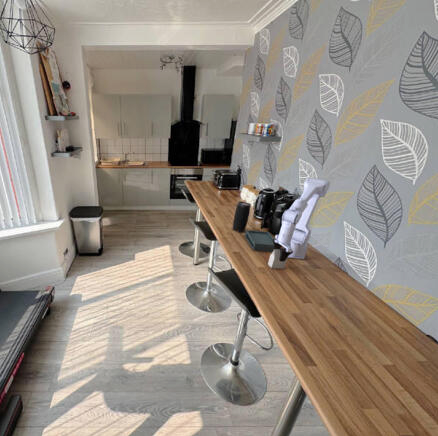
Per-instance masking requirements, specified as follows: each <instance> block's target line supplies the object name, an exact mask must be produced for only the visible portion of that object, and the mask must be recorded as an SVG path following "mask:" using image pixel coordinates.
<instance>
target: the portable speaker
mask: <svg viewBox="0 0 438 436" xmlns="http://www.w3.org/2000/svg"><path fill="white" fill-rule="evenodd" d="M251 205H252V204H251V203H250V202H246V201H238V202H237V205H236V207H235V212H234V217H233V221H232V230H233V231H237V232H238V233H244V232H245V231H246V227H247V225H248V222H249V218H250V212H251Z"/></svg>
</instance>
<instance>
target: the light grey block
mask: <svg viewBox="0 0 438 436" xmlns="http://www.w3.org/2000/svg"><path fill="white" fill-rule="evenodd" d="M279 259H280V250H276V249H274V251H273V252H271V253H270V255H269V259H268V262H267V265H268V267H270V269H283V270H284V269H285V267H286V264H287V261H288V257H287V258H286V260H285V261H284V262H282V261H279Z"/></svg>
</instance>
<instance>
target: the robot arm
mask: <svg viewBox="0 0 438 436" xmlns="http://www.w3.org/2000/svg"><path fill="white" fill-rule="evenodd" d="M330 187H331V182H330V180H325V179H320V178H314V177H311V176H309V177H307V178H306V179H305V180H304V184H303V192H302V194H301V196H300V197H299V198H297V199H295V200H294V201H293V203H292V204H291V206H290V207H289V208H288V209H285V210H284V212H283V214H282V216H281V227H280V230H279V233H278V234H275V236H274V237H275V238H274V239H273V240H272V241H273V245H274V249H276V250H280V259H279V261H282V262H284V261H285V260H286V258H287V259H300V260H306V258H305V256H306V254H307V251H308V247H309V245H308V242H309V240H310V237H311V233H312V231H311V229H310V228H309V226H308V225H309V223H310V221H311V218H312V216H313V215H314V211H315V209H316V206H317V205H318V202H319V200H320V199H321V198H325V196H326V195H327V193H328V192H329V191H328V190H329V189H330Z"/></svg>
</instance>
